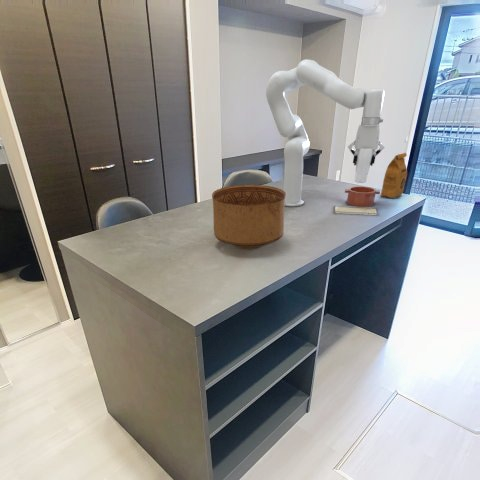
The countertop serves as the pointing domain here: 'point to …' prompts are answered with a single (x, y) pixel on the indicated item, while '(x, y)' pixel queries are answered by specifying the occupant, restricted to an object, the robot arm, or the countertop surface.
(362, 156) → the drinking glass
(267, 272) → the countertop surface
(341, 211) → the tea towel
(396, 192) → the coffee package
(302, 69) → the robot arm
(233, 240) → the pot
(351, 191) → the cooking pot
